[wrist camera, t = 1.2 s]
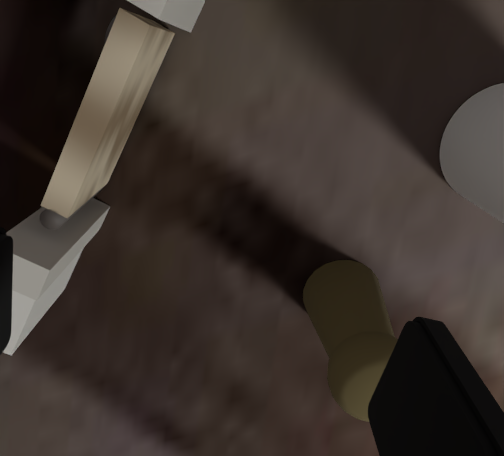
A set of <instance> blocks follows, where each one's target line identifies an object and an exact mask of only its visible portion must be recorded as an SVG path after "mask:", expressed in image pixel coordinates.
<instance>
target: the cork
mask: <svg viewBox="0 0 504 456" xmlns="http://www.w3.org/2000/svg"><path fill="white" fill-rule="evenodd" d="M303 302H304V305H305V308H306V311H307V313H308V315H309V317H310V319H311V321H312V323H313V325H314V327H315V329H316V331H317V333H318V335H319V338H320V340H321V342H322V344H323V346H324V348H325V350H326V352H327V354H328V356H329V358H330V359H329V363H328V376H327V379H328V384H329V387H330V390H331V393H332V396H333V398H334V399H335V401H336V402H337V404H338V405H339V406H340V407H341V408H342V409H343V410H344V411H345V412H347V413H348V414H350V415H352V416H353V417H355V418H357V419H359V420H363V421H367V422H369V418H368V405H369V402H370V400H371V397H372V395H373V393H374V391H375V389H376V387H377V384H378V382H379V380H380V378H381V376H382V373H383V371H384V369H385V367H386V365H387V363H388V360H389V358H390V356H391V354H392V352H393V349H394V347H395V345H396V343H397V341H398V339H397V338H395V337H394V333H393V330H392V327H391V323H390V320H389V316H388V313H387V309H386V306H385V303H384V299H383V296H382V292H381V289H380V285H379V282H378V279H377V277H376V276H375V274H374V273H373V272H372V270H371V269H369V268H368V267H366V266H365V265H363V264H362V263H359V262H355V261H352V260H336V261H333V262H330V263H327V264H324V265H323V266H321V267H320V268H318V269H317V270H315V271H314V272H313V274H312V275H311V276H310V277H309V278H308V280H307V282H306V284H305V287H304V289H303Z"/></svg>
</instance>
